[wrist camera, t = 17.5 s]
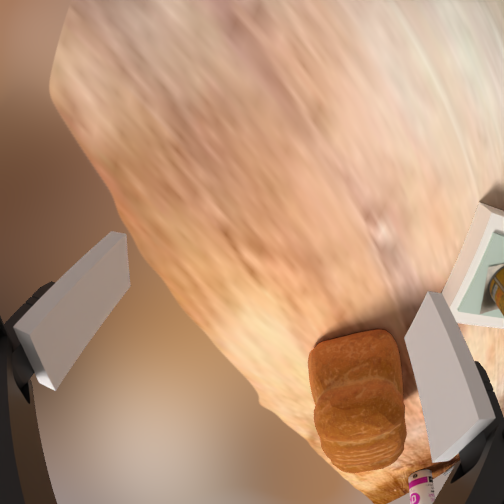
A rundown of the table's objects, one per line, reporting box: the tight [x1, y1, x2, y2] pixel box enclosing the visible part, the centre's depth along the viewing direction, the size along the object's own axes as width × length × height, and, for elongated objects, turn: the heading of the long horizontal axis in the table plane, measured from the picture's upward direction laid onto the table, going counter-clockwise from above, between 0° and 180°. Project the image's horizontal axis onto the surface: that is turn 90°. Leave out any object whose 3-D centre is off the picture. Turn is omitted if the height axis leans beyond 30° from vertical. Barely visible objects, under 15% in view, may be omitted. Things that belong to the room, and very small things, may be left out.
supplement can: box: [408, 469, 435, 504], centre depth 70 cm, size 8×8×15 cm
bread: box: [308, 329, 407, 473], centre depth 48 cm, size 16×26×17 cm, turn 21°
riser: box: [442, 202, 504, 329], centre depth 38 cm, size 18×15×5 cm
